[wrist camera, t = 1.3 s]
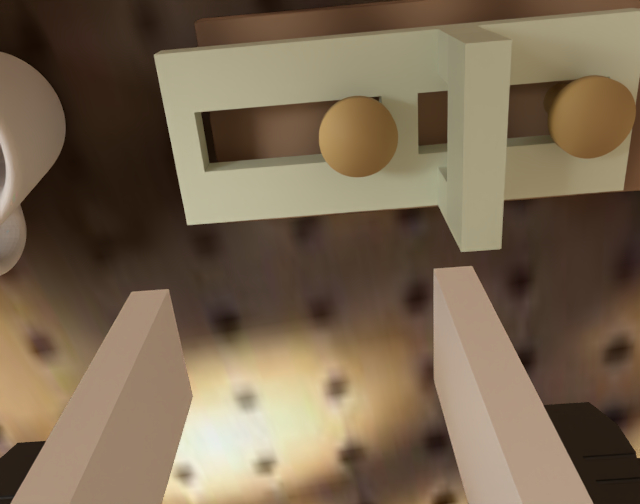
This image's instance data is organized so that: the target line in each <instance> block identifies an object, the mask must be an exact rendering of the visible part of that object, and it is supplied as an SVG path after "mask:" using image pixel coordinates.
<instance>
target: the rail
mask: <svg viewBox="0 0 640 504" xmlns="http://www.w3.org/2000/svg"><path fill="white" fill-rule="evenodd" d="M626 8H638V9H640V0H399V1H388V2H377V3H366V4H355V5H345V6H334V7H323V8H312V9H301V10H290V11H279V12H268V13H258V14H247V15H236V16H225V17H214V18H203V19H200V20H198V21H196V22H194V25H195V31H196V37H197V43H198V47H206V46H217V45H228V44H239V43H250V42H261V41H272V40H283V39H294V38H305V37H316V36H327V35H338V34H350V33H361V32H372V31H383V30H394V29H405V28H416V27H427V26H438V25H449V24H460V23H471V22H482V21H494V20H505V19H516V18H527V17H538V16H549V15H560V14H571V13H582V12H593V11H604V10H615V9H626ZM209 115H210V121H211V128H212V134H213V140H214V146H215V152H216V158H217V163H218V162H230V161H242V160H254V159H266V158H278V157H290V156H302V155H314V154H322V156H323V158H324V159H325V161H326V162H327V163H328V165H329V166H330V167H331V168H332V169H334V170H335V171H337V172H338V173H340V174H343V175H345V176H349V177H366V176H370V175H372V174H375V173H377V172H379V171H380V170H382V169H383V168H384V167H385V166H386V165H387V164H388V163H389V162H390V161H391V159H392V158H393V156H394V154H395V152H396V149H397V144H398V130H397V126H396V123H395V121H394V119H393V117H392V115H391V113H390V112H389V110H388V109H387V108H386V107H385V106H384V105H383V104H382V103H380V102H379V97H366V96H351V97H347V98H344V99H342V100H333V101H321V102H309V103H298V104H286V105H275V106H263V107H252V108H240V109H228V110H217V111H209ZM631 129H632V133H631V140H630V147H629V154H628V161H627V168H626V175H625V182H624V189H623V190H622V191H609V192H597V193H584V194H572V195H559V196H546V197H534V198H521V199H509V200H504V201H511V200H524V199H537V198H549V197H562V196H574V195H587V194H599V193H612V192H624V191H637V190H640V78H639V85H638V92H637V99H636V105H635V101H634V98H633V96H632V94H631V92H630V91H629V90H628V88H627V87H625V86H624V85H623V84H621V83H620V82H618V81H615V80H613V79H610V78H608V77H604V76H599V75H590V76H585V77H581V78H579V79H575V80H564V81H552V82H541V83H529V84H518V85H510V90H509V109H508V128H507V138H518V137H530V136H541V135H550V136H551V138H552V139H553V141H554V142H555V143H556V144H557V145H558V146H559V147H560V148H561V149H563V150H564V151H565V152H567V153H568V154H570V155H572V156H574V157H578V158H584V159H590V158H597V157H600V156H603V155H606V154H607V153H609V152H611V151H613V150H614V149H616V148H617V147H618V146H619V145H620V144H621V143H622V142H623V141H624V140H625V139H626V137H627V136H628V134H629V133H630V131H631ZM447 130H448V91H437V92H425V93H418V146H422V145H434V144H446V143H447ZM436 206H438V205H434V206H421V207H409V208H396V209H384V210H371V211H359V212H346V213H334V214H321V215H309V216H296V217H283V218H271V219H258V220H246V221H233V222H227V223H236V222H248V221H261V220H273V219H286V218H298V217H311V216H323V215H336V214H349V213H361V212H374V211H386V210H399V209H411V208H424V207H436Z"/></svg>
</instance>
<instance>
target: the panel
mask: <svg viewBox="0 0 640 504" xmlns="http://www.w3.org/2000/svg"><path fill="white" fill-rule="evenodd" d="M154 59H155V64H156V69H157V74H158V79H159V84H160V90H161V95H162V100H163V105H164V110H165V115H166V120H167V125H168V130H169V135H170V140H171V145H172V150H173V155H174V160H175V165H176V171H177V176H178V181H179V186H180V191H181V196H182V201H183V206H184V211H185V216H186V221H187V225H196V224H208V223H221V222H233V221H246V220H258V219H271V218H283V217H296V216H309V215H321V214H334V213H346V212H359V211H371V210H384V209H396V208H409V207H421V206H434V205H438V206H439V208H440V210H441V212H442V214H443V216H444V218H445V220H446V222H447V224H448V227H449V229H450V231H451V233H452V235H453V237H454V239H455V241H456V243H457V245H458V247H459V249H460V251H461V252H469V251H482V250H495V249H501V244H502V224H503V205H504V200H509V199H521V198H534V197H546V196H559V195H572V194H584V193H597V192H609V191H622V190H623V189H624V182H625V175H626V168H627V161H628V154H629V147H630V140H631V133H632V129H631V131H630V133H629V134H628V136H627V137H626V139H625V140H624V141H623V142H622V143H621V144H620V145H619V146H618V147H617V148H616V149H614V150H613V151H611V152H609V153H607V154H606V155H603V156H600V157H597V158H590V159H584V158H578V157H574V156H572V155H570V154H568V153H567V152H565V151H564V150H563V149H561V148H560V147H559V146H558V145H557V144H556V143H555V142H554V141H553V139H552V138H551V136H550V135H541V136H530V137H518V138H507V128H508V109H509V90H510V85H518V84H529V83H541V82H552V81H564V80H575V79H579V78H581V77H585V76H590V75H599V76H604V77H608V78H610V79H613V80H615V81H618V82H620V83H621V84H623V85H624V86H625V87H627V88H628V90H629V91H630V92H631V94H632V96H633V98H634V101H635V105H636V99H637V92H638V85H639V78H640V9H638V8H626V9H615V10H604V11H593V12H582V13H571V14H560V15H549V16H538V17H527V18H516V19H505V20H494V21H482V22H471V23H460V24H449V25H438V26H427V27H416V28H405V29H394V30H383V31H372V32H361V33H350V34H338V35H327V36H316V37H305V38H294V39H283V40H272V41H261V42H250V43H239V44H228V45H217V46H206V47H195V48H183V49H172V50H161V51H159V52H158V53H156V54H154ZM437 91H448V130H447V143H446V144H434V145H422V146H418V93H425V92H437ZM351 96H366V97H379V102H380V103H382V104H383V105H384V106H385V107H386V108H387V109H388V110H389V112H390V113H391V115H392V117H393V119H394V121H395V123H396V126H397V130H398V144H397V149H396V152H395V154H394V156H393V158H392V159H391V161H390V162H389V163H388V164H387V165H386V166H385V167H384V168H383V169H382V170H380V171H379V172H377V173H375V174H372V175H370V176H366V177H349V176H345V175H343V174H340V173H338V172H337V171H335V170H334V169H332V168H331V167H330V166H329V165H328V163H327V162H326V161H325V159H324V158H323V156H322V154H314V155H302V156H290V157H278V158H266V159H254V160H242V161H230V162H218V163H209V157H208V151H207V145H206V139H205V134H204V128H203V122H202V116H201V112H205V111H217V110H228V109H240V108H252V107H263V106H275V105H286V104H298V103H309V102H321V101H333V100H342V99H344V98H347V97H351Z"/></svg>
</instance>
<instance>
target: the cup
mask: <svg viewBox="0 0 640 504" xmlns="http://www.w3.org/2000/svg"><path fill="white" fill-rule="evenodd" d="M65 132H66V124H65V116H64V112H63V108H62V105H61V103H60V100H59V98H58V96H57V94H56V93H55V91H54V89H53V88H52V86H51V85H50V84H49V82H48V81H47V80H46V79H45V78H44V77H43V76H42V75H41V74H40V73H39V72H38V71H37V70H36V69H35V68H33V67H32V66H31V65H29V64H28V63H26V62H24V61H23V60H21V59H19V58H17V57H15V56H12V55H10V54H7V53H4V52H0V275H2V274H4V273H7V272H8V271H9V270H10V269H12V268H13V267H14V265H15V264H16V263H17V262H18V260H19V259H20V257H21V255H22V252H23V250H24V247H25V243H26V223H25V219H24V215H23V211H22V208H21V205H20V203H21V202H22V201H23V200H24V199H25V198H26V196H27V195H28V194H29V193H30V192H31V191H32V189H33V188H34V187H35V186H36V185H37V184H38V182H39V181H40V180H41V179H42V178H43V177H44V175H45V174H46V173H47V172H48V171H49V169H50V168H51V167H52V166H53V164H54V163H55V161H56V160H57V158H58V156H59V154H60V152H61V150H62V147H63V144H64V139H65Z"/></svg>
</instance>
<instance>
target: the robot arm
mask: <svg viewBox="0 0 640 504" xmlns="http://www.w3.org/2000/svg"><path fill="white" fill-rule="evenodd" d="M434 382H435V386H436V389H437V393H438V397H439V400H440V404H441V407H442V411H443V415H444V418H445V422H446V425H447V429H448V433H449V436H450V440H451V443H452V447H453V451H454V454H455V458H456V461H457V465H458V468H459V472H460V476H461V479H462V483H463V486H464V490H465V494H466V497H467V501H468V504H640V458H637V457H636V452H635V451H634V449H633V448H632V446H631V444H630V443H629V441H628V440H627V438H626V437H625V435H624V434H623V432H622V431H621V429H620V428H619V426H618V425H617V424H616V423H615V422H614V421H612V420H611V419H610V418H608V417H607V416H606V415H605V414H603V413H602V412H601V411H599V410H598V409H597V408H596V407H594V406H593V405H592V404H590V403H589V402H584V403H569V404H554V405H543V404H542V402H541V400H540V398H539V396H538V394H537V392H536V390H535V388H534V386H533V384H532V382H531V380H530V378H529V376H528V374H527V373H526V371H525V369H524V367H523V365H522V363H521V361H520V359H519V357H518V355H517V353H516V351H515V349H514V347H513V345H512V343H511V341H510V339H509V337H508V335H507V333H506V331H505V329H504V327H503V326H502V324H501V322H500V320H499V318H498V316H497V314H496V312H495V310H494V308H493V306H492V304H491V302H490V300H489V298H488V296H487V294H486V292H485V290H484V288H483V286H482V284H481V282H480V280H479V279H478V277H477V275H476V273H475V271H474V269H473V267H472V266H464V267H451V268H437V269H434ZM192 397H193V396H192V391H191V387H190V382H189V378H188V373H187V369H186V364H185V360H184V355H183V351H182V347H181V342H180V338H179V333H178V329H177V324H176V320H175V315H174V311H173V306H172V302H171V297H170V293H169V289H162V290H149V291H136V292H131V294H130V295H129V297H128V299H127V301H126V302H125V304H124V306H123V308H122V309H121V311H120V313H119V315H118V316H117V318H116V320H115V322H114V323H113V325H112V327H111V328H110V330H109V332H108V334H107V335H106V337H105V339H104V341H103V342H102V344H101V346H100V348H99V349H98V351H97V353H96V355H95V356H94V358H93V360H92V362H91V363H90V365H89V367H88V369H87V370H86V372H85V374H84V376H83V377H82V379H81V381H80V383H79V384H78V386H77V388H76V390H75V391H74V393H73V395H72V397H71V398H70V400H69V402H68V404H67V405H66V407H65V409H64V411H63V412H62V414H61V416H60V418H59V419H58V421H57V423H56V425H55V426H54V428H53V430H52V432H51V433H50V435H49V437H48V439H47V440H46V441H40V442H25V443H17V444H16V445H15V446H14V447H13V448H11V449H10V450H9V451H8V452H7V453H6V454H5V455H4V456H2V457H1V458H0V504H162V500H163V497H164V494H165V490H166V487H167V483H168V480H169V476H170V473H171V470H172V466H173V463H174V459H175V456H176V452H177V449H178V445H179V442H180V439H181V435H182V432H183V428H184V425H185V421H186V418H187V415H188V411H189V408H190V404H191V401H192Z"/></svg>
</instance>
